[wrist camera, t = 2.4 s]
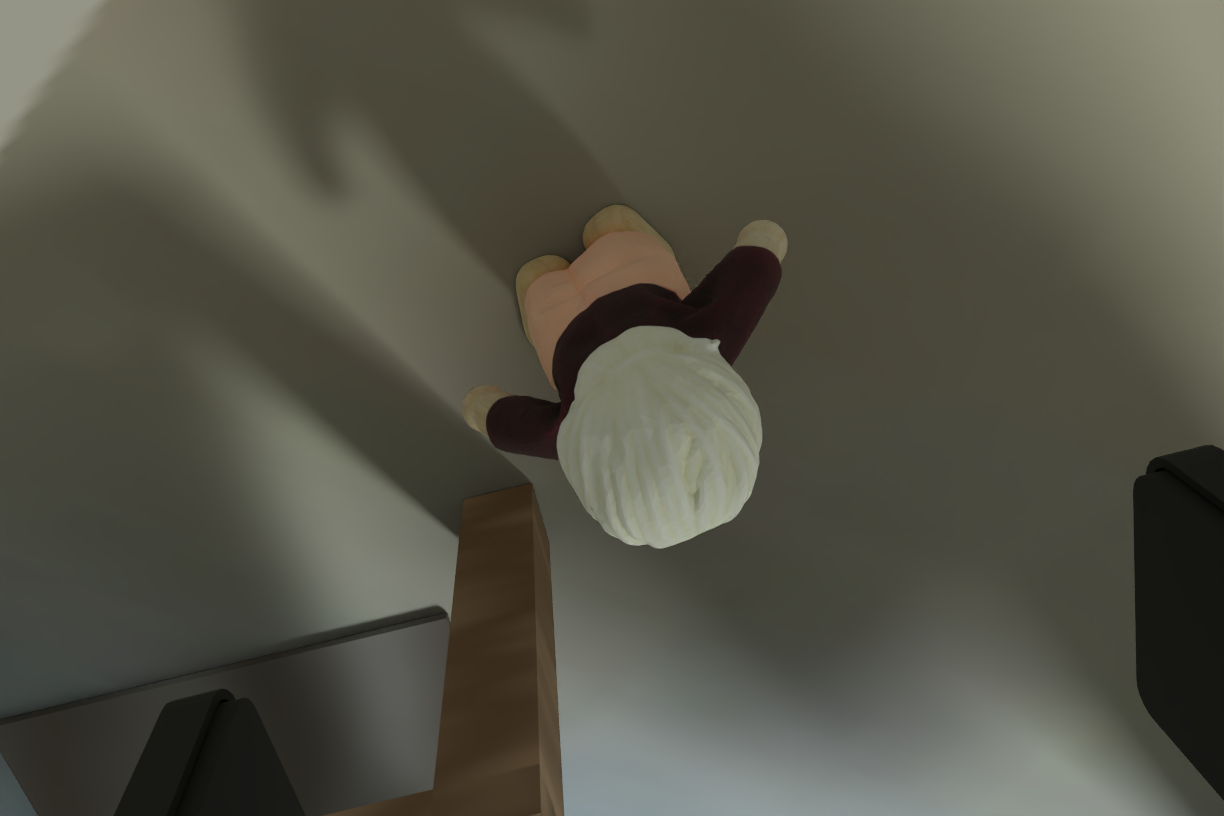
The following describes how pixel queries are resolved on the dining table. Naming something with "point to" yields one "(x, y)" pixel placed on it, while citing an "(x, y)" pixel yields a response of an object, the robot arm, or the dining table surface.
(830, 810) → the dining table surface
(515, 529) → the frame
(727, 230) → the dining table surface
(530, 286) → the grandmother figurine
